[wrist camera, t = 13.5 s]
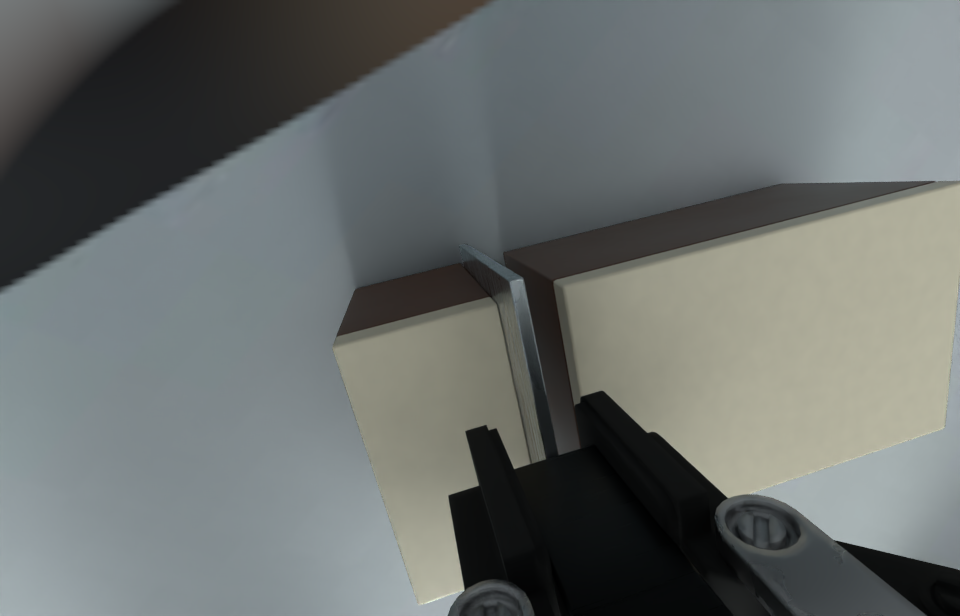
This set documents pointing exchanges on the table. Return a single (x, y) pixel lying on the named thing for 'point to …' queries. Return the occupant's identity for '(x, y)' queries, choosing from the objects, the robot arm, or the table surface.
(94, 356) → the table surface
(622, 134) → the table surface
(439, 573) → the cake slice
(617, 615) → the metal dough scraper
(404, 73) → the table surface
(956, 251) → the cake
